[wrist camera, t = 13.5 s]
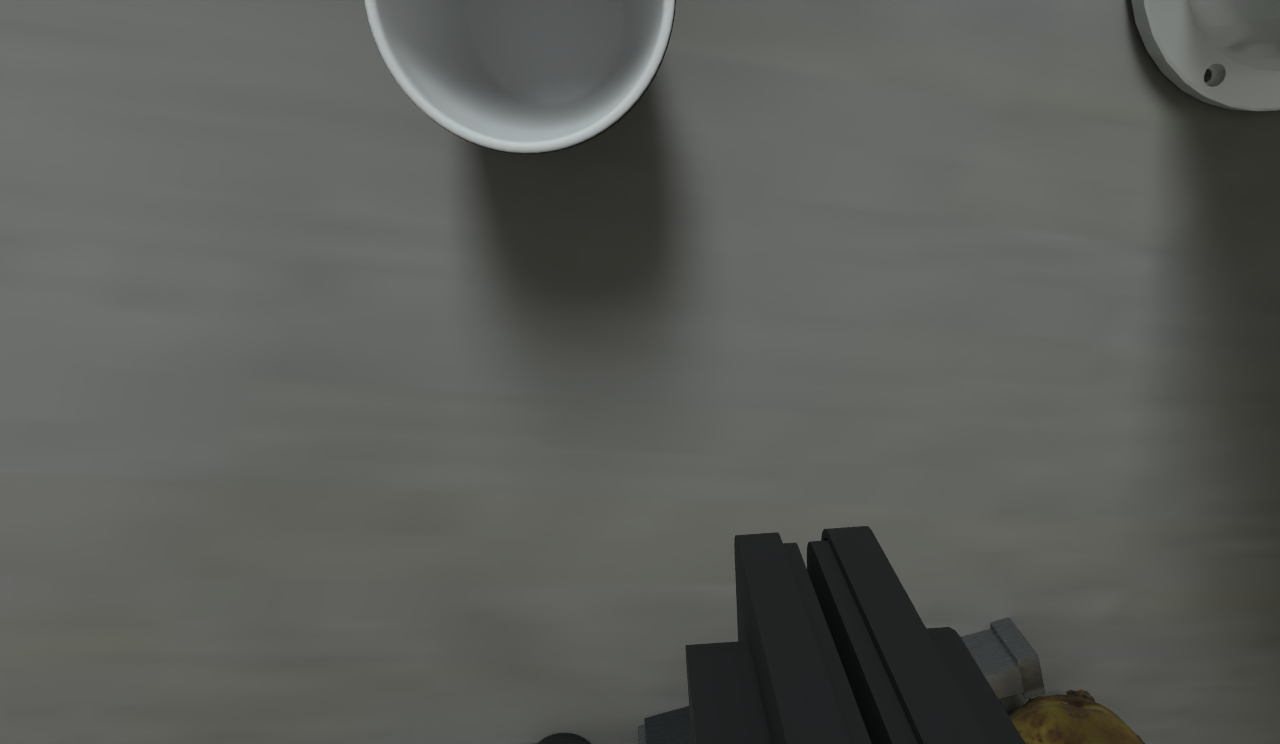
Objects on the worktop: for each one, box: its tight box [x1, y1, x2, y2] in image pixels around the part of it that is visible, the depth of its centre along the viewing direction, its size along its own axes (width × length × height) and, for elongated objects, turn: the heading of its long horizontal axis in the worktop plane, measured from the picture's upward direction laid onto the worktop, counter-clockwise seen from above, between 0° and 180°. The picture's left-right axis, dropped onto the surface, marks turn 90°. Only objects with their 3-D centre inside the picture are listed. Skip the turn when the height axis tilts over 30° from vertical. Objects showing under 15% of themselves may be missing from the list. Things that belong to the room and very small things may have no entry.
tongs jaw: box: [638, 618, 1045, 744], centre depth 41 cm, size 23×2×5 cm, turn 108°
